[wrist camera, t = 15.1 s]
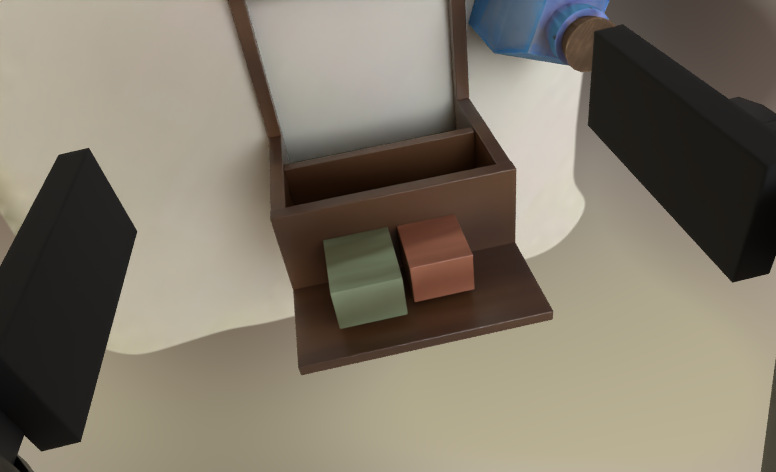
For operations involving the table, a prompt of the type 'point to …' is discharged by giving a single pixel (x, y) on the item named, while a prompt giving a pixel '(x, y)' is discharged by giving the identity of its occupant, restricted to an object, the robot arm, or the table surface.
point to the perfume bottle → (541, 29)
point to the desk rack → (397, 232)
